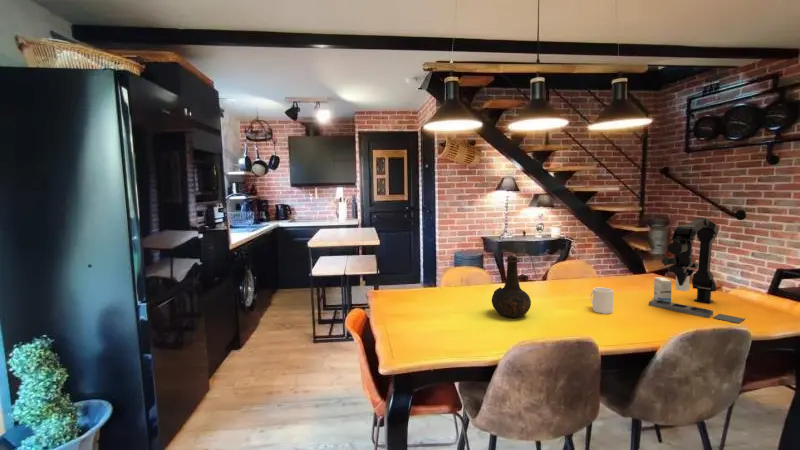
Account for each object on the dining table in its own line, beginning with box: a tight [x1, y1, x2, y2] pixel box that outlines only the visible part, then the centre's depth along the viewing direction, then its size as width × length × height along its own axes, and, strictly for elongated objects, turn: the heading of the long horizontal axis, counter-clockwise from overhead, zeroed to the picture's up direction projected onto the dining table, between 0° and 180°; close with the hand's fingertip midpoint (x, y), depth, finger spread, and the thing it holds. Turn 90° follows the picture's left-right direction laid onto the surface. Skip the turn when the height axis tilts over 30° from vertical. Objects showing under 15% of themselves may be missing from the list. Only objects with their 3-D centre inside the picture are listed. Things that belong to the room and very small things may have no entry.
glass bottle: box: [491, 255, 532, 319], centre depth 179 cm, size 18×18×28 cm
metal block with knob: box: [674, 275, 691, 292], centre depth 183 cm, size 4×4×8 cm
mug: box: [590, 286, 614, 315], centre depth 185 cm, size 9×12×11 cm
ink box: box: [653, 276, 673, 302], centre depth 198 cm, size 9×5×12 cm, turn 168°
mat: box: [712, 313, 746, 325], centre depth 171 cm, size 9×9×1 cm
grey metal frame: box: [648, 298, 714, 319], centre depth 184 cm, size 7×24×2 cm, turn 36°
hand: (682, 284), depth 183 cm, fingers closed on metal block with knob, 4 cm apart
